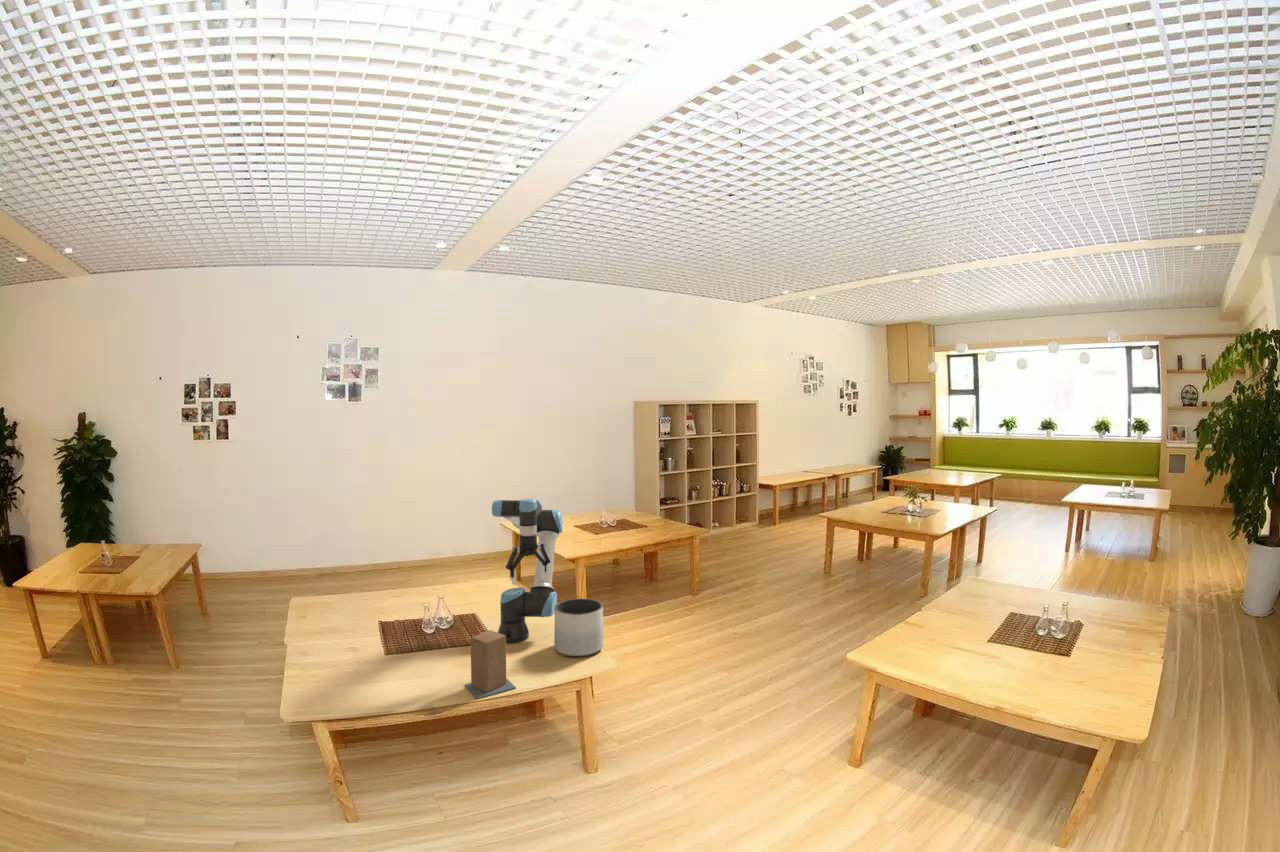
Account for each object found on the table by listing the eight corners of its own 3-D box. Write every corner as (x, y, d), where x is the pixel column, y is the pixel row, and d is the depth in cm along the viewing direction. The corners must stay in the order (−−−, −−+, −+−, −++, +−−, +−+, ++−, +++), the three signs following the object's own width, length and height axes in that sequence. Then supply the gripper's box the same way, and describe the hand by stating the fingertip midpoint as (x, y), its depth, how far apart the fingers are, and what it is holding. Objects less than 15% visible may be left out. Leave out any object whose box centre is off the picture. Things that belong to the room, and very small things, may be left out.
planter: (545, 646, 286) (545, 604, 285) (586, 635, 299) (586, 595, 299) (570, 663, 268) (570, 618, 267) (612, 650, 281) (612, 607, 281)
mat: (464, 685, 246) (464, 684, 246) (502, 675, 255) (502, 674, 255) (476, 699, 235) (476, 698, 235) (515, 688, 244) (515, 687, 244)
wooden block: (486, 693, 239) (486, 642, 238) (470, 686, 245) (470, 637, 244) (506, 684, 247) (506, 635, 246) (490, 677, 253) (490, 629, 252)
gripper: (504, 539, 260) (504, 588, 260) (557, 532, 274) (557, 579, 274) (498, 536, 266) (498, 584, 267) (550, 529, 280) (550, 575, 281)
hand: (528, 582), depth 270 cm, fingers open, 13 cm apart
